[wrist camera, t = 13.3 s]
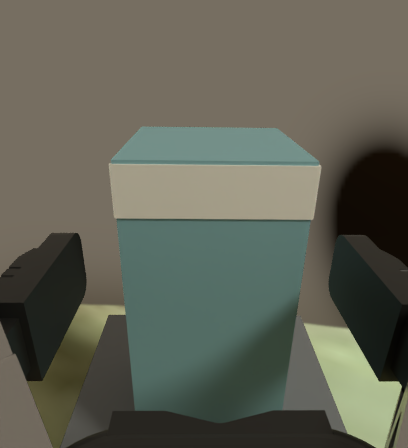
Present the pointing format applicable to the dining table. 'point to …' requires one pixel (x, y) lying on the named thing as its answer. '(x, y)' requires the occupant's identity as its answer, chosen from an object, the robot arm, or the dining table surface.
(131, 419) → the robot arm
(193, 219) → the carton
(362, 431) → the dining table surface
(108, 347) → the podium
